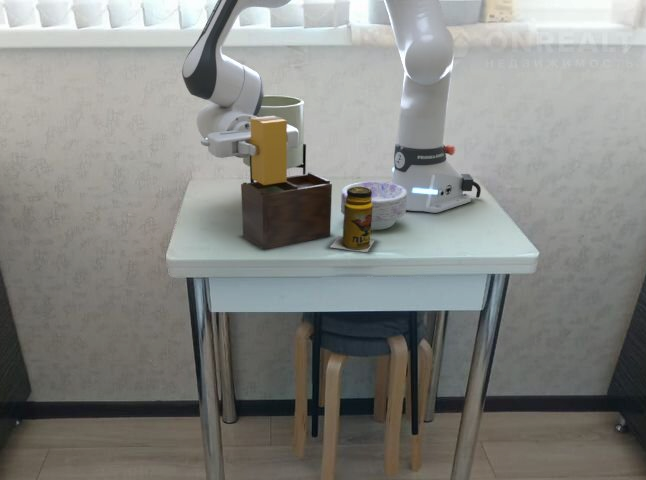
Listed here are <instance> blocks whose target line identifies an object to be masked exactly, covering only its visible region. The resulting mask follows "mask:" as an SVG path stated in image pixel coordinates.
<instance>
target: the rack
mask: <svg viewBox="0 0 646 480" xmlns="http://www.w3.org/2000/svg"><path fill="white" fill-rule="evenodd" d="M240 192H241V193H240V194H241V218H242V219H241V220H242V237H243V238H244V239H246V240H247V241H248V242H251V243H252V244H254V245H255V246H257V247H258V248H260V249H261V250H269V249H274V248H279V247H283V246H289V245H292V244H299V243H303V242H309V241H312V240H316V239H323V238H327V237H331V223H332V221H331V220H332V196H333V193H332V192H333V184H332V183H331V180H329V179H328V178H325V177H323V176H320V175H318V174H316V173H313V172H311V171H310V172H307V173H306V174H303V173H302V174H297V175H291V176H287V182H282V183H275V184H269V185H263V184H261V183H259V182H257V181H254V182H252V183H251V182H242V183H241V184H240Z"/></svg>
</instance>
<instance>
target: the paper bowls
mask: <svg viewBox="0 0 646 480" xmlns="http://www.w3.org/2000/svg"><path fill="white" fill-rule="evenodd" d="M352 187H365V188H368V189H370V190H371V191H372V196H371V198H372V200H371V202H372V204H373V210H372V222H371V231H380V230H386V229H389V228H391V227H392V226H394V224H395V223H396V221H397V219H400V218H402V217H403V216H404V215H405V214H406V211H407V210H406V203H407V191H406V189H405V188H403V187H401V186H399V185H396V184H392V183H391V182H385V181H360V182H355V183H351V184H348V185H345V186H344V187H343V188H342V190H341V200H340V201H341V203H340V212H341V213H342V215H344V207H345V202H346V197H347V190H348V189H349V188H352Z"/></svg>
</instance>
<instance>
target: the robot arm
mask: <svg viewBox="0 0 646 480" xmlns="http://www.w3.org/2000/svg"><path fill="white" fill-rule="evenodd" d="M293 1H294V0H217V2H216V3H215V4H214V5H215V6H214V7H213V9H212V11H211V13H210V16H209V17H208V19H207V21H206V23H205V26H204V27H203V29H202V31H201V33H200V35H199V37H198V39H197V40H196V42H195V44H194V45H193V47H192V48H191V49H190V51H189V53H188V54H187V56H186V57H185V60H184V62H183V66H182V68H181V69H182V70H181V74H182V75H181V77H182V79H183V82H184V85H185V87H186V89H187V91H188V92H189V94H190V95H191V96H194V97H196V98H200V99H202V100H205V101H209V102H210V103H207V104H206V105H204V106H202V107H201V109H199V111H198V113H197V116H196V125H197V129H198V131H199V133H200V135H201V137H202V139H201V140H200V144H201V145H202V146H203V147H207V149H208V152H209V153H210V154H211V155H212V156H214V157H215V158H221V159H222V158H223V159H225V158H231V157H235V158H238V159H243V158H246V157H249V156H251V155H259V146H258V145H256V144H251V118H257V117H266V116H257V114H258V112H259V110H260V108H261V105H262V101H263V96H264V94H265V93H264V84H263V81H262V77H261V75H260V74H259V72H258V71H255V70H253V69H252V68H250V67H248V66H246V65H244V64H243V63H240V62H238V61H236V60H235V59H232V58H231V57H229V56H227V55H225V54H223V52H222V48H223V46H224V44H225V42H226V40H227V38H228V36H229V34H230V32H231V31H232V28H233V26H234V24H235V22H236V21H237V19H238V17H239V15H241V13H242V12H243V11H244V10H246V9H249V8H265V9H279V8H283V7H285V6H288V5H289V4H290V3H292V2H293ZM383 1H384V5H385V8H386V11H387V13H388V16H389V22H390V24H391V28H392V32H393V36H394V39H395V43H396V46H397V49H398V53H399V56H400V59H401V62H402V65H403V69H404V75H403V85H402V92H401V93H402V94H401V101H400V107H399V119H398V128H397V140H396V142H395V144H394V153H393V159H394V160H393V163H394V167H392V177H391V181H390V183H392V184H396V185H399V186H401V187H403V188H405V189H406V191H407V203H406V211H413V212H427V213H435V214H436V213H441V212H444V211H447V210H450V209H453V208H455V207H459V206H463V205H465V204H468V203H470V202H471V201H472V197H471V195H470V194H468V193H466V192H472V191H473V187H475V189H476V194H475V197H476V198H478V199H479V198H480V197H481V192H482V188H481V186H480V184H479V183H477V182H476V181H474V178H473V177H472V175H471V174H470V173H461V172H459V171H458V170H457V169H456V168H455V167H454V166H453V165H452V164H451V163H450V162H449V161H448V160H447V155H449V156H453V155H454V154H455V153H456V147H455V146H454V145H450V144H447V145H445V144H444V136H445V127H446V119H447V111H448V104H449V103H448V102H449V95H450V89H451V81H452V80H451V79H452V72H453V65H454V57H455V48H456V47H455V40H454V37H453V33H452V32H451V31H450V30H449V29H448V27H447V24H446V20H445V16H444V13H443V10H442V6H441V3H440V0H383ZM298 144H299V132H298V130H297V129H296V128H295V127H293V126H291V125H288V124H287V151H288V149H290V148H296V147H298ZM471 203H472V202H471Z"/></svg>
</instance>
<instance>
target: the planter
mask: <svg viewBox="0 0 646 480" xmlns="http://www.w3.org/2000/svg"><path fill="white" fill-rule="evenodd" d="M257 116H276V117H280V118H283V119H284V120H287V124H288V125H291V126H293V127H295V128H296V129H297V130H298V132H299V144H298V147H296V148H290V149H288V151H287V170H288V169H293V168H295V169H296V168H298V169H302V175H303V174H307V172H306V171H307V170H306V169H307V144H306V143H305V142H304V141H305V101H304V100H303V99H302V98H299V97H297V96H296V97H295V96H290V95H281V94H280V95H279V94H277V95H276V94H268V95H267V94H265V95H264V96H263V101H262V105H261V108H260V110H259V112H258V114H257ZM242 162H243V164H244V165H245V166H248V167H249V177H250V179H249V180H250V183H252V182H255V180H253V179H252V160H251V156H249V157H246V158H242Z"/></svg>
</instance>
